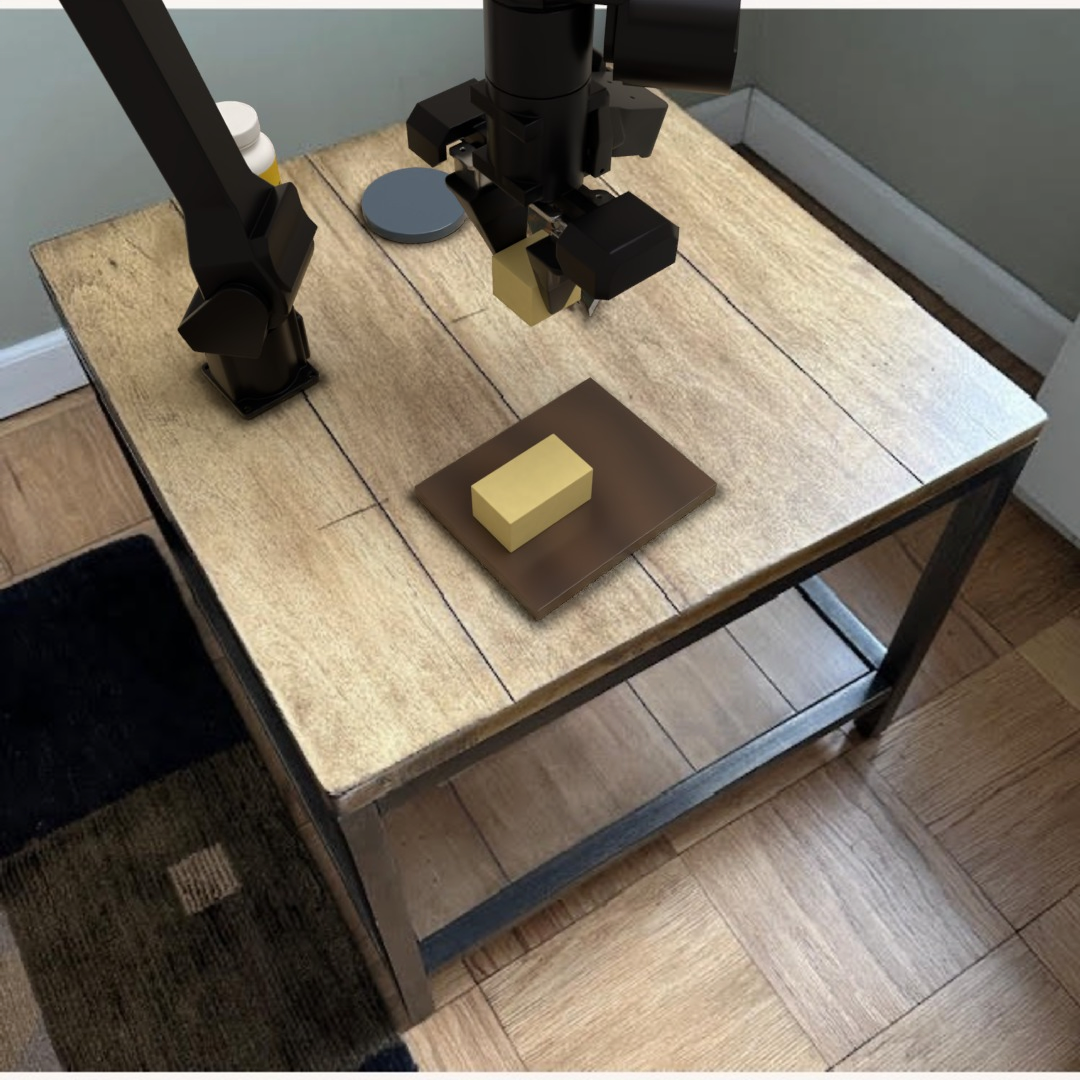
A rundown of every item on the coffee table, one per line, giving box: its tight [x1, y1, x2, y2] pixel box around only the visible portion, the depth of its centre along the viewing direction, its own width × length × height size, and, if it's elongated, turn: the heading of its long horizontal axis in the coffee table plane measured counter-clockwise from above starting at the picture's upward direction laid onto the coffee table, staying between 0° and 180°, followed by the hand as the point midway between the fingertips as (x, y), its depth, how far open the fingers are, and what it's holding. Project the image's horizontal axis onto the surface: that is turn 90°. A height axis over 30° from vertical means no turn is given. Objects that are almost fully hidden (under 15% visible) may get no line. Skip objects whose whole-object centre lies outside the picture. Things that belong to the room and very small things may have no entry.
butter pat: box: [491, 230, 582, 328], centre depth 70 cm, size 4×4×3 cm
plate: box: [361, 166, 468, 244], centre depth 93 cm, size 9×9×1 cm
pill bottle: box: [215, 100, 283, 186], centre depth 86 cm, size 6×6×11 cm
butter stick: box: [471, 434, 593, 552], centre depth 72 cm, size 7×4×3 cm, turn 130°
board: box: [413, 376, 718, 622], centre depth 75 cm, size 16×13×1 cm
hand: (535, 293), depth 71 cm, fingers closed on butter pat, 4 cm apart
